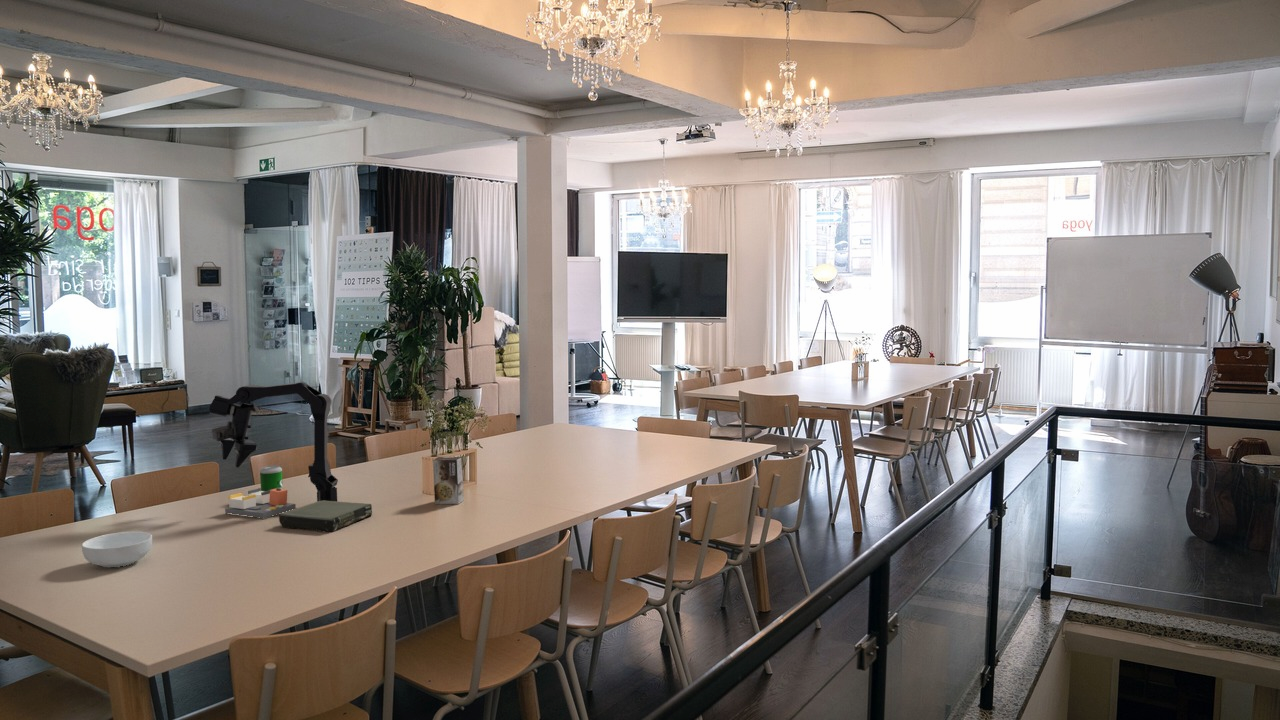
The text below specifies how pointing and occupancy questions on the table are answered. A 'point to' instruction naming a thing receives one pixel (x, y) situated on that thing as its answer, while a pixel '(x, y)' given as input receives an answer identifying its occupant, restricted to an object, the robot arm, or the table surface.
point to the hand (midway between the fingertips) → (230, 463)
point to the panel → (262, 510)
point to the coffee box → (448, 480)
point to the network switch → (325, 515)
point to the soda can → (271, 478)
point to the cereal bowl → (117, 548)
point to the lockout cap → (278, 496)
